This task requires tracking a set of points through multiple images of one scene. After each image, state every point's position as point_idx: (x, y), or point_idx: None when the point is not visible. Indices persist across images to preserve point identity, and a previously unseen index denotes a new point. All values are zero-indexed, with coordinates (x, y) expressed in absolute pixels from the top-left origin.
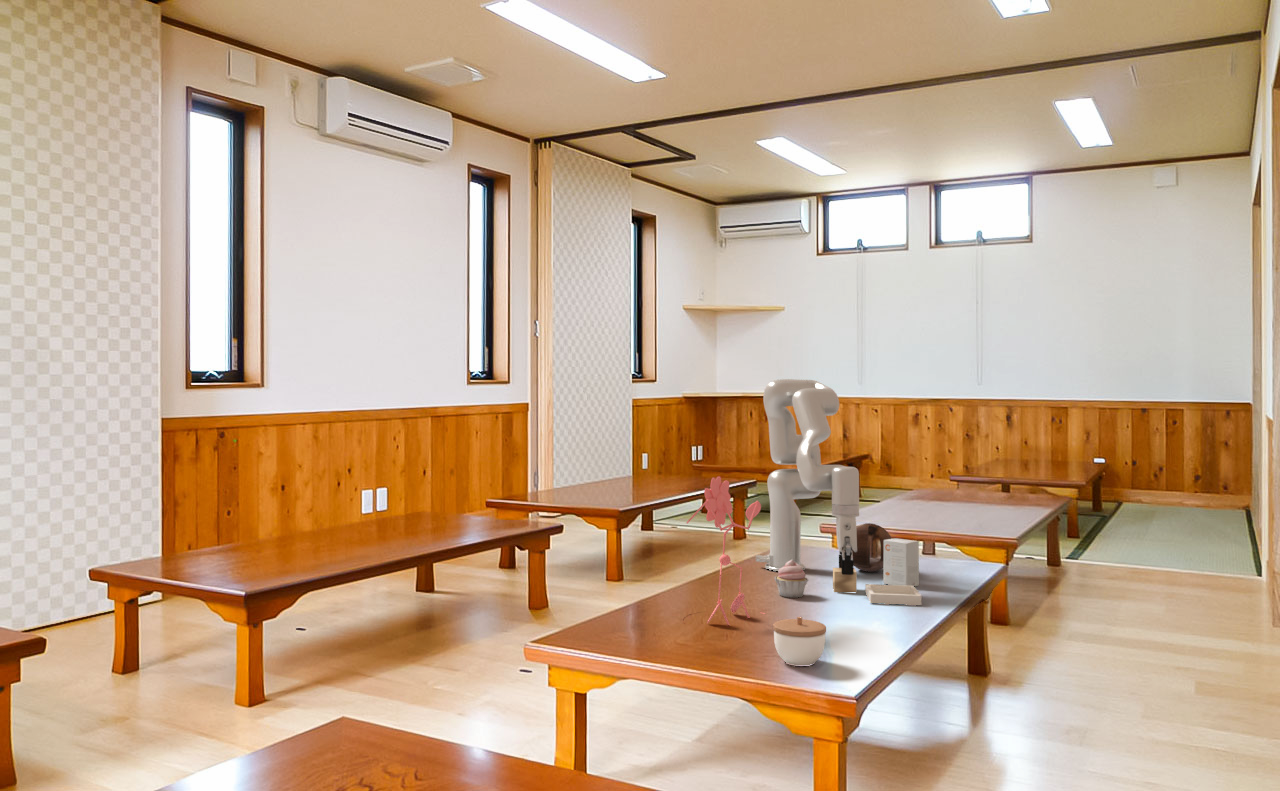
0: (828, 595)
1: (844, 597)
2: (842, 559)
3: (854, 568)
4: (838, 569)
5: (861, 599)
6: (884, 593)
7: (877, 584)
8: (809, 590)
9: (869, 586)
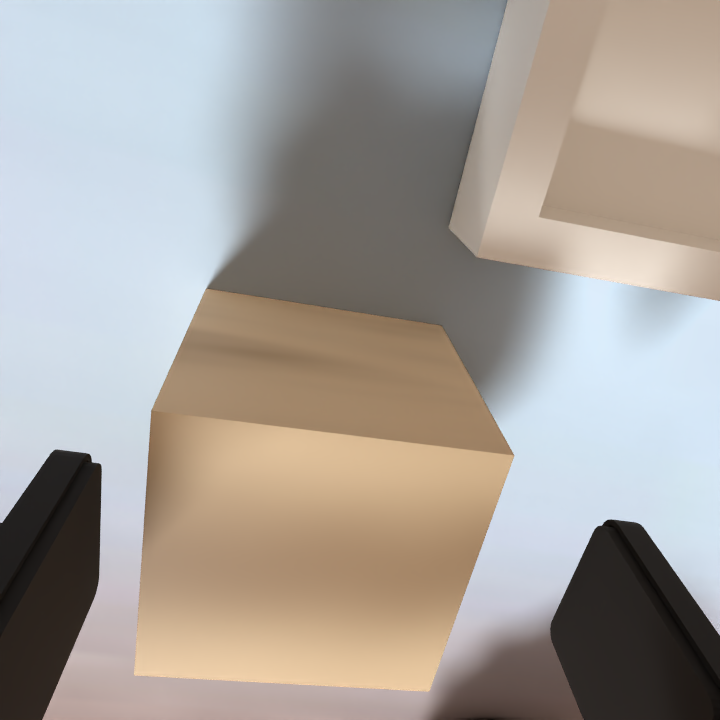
0: (491, 567)
1: (589, 467)
2: (36, 685)
3: (162, 413)
4: (273, 635)
5: (703, 343)
6: (615, 16)
7: (527, 83)
8: None
9: (634, 248)
